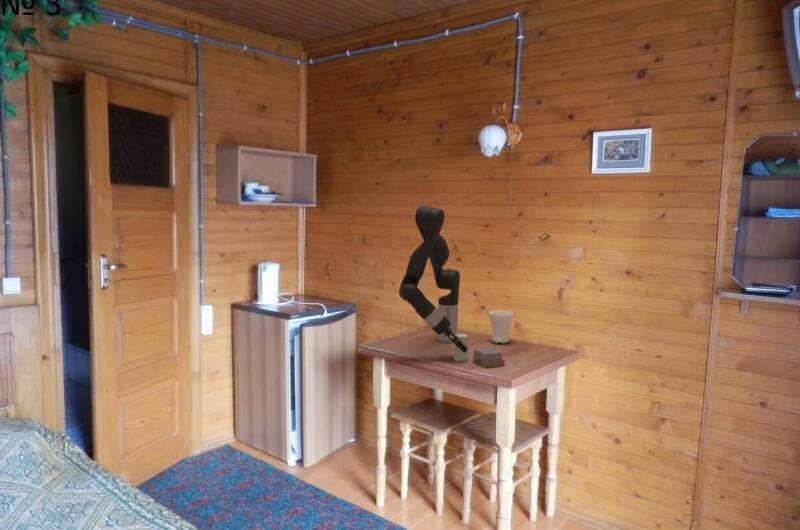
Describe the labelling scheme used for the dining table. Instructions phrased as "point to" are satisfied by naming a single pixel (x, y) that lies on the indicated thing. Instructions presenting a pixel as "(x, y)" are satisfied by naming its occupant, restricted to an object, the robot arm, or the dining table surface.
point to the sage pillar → (457, 352)
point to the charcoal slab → (487, 354)
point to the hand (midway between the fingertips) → (464, 348)
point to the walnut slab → (489, 363)
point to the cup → (500, 325)
